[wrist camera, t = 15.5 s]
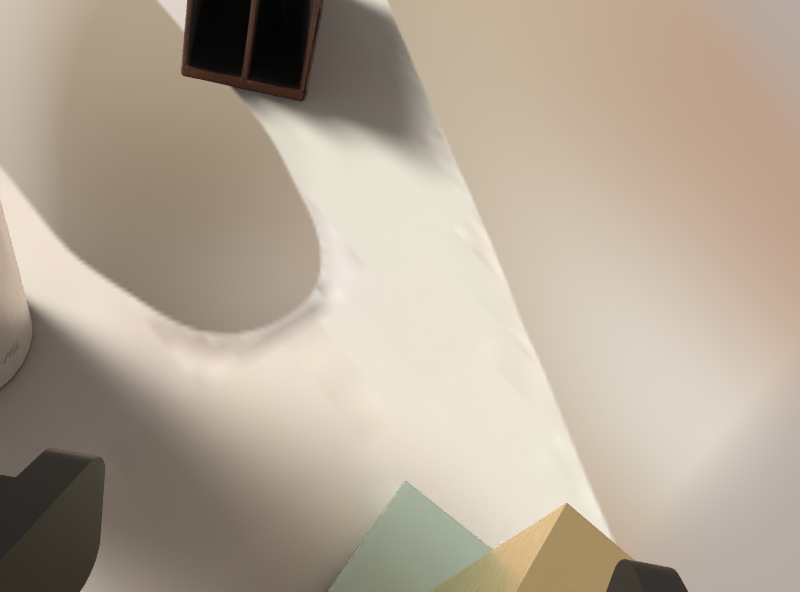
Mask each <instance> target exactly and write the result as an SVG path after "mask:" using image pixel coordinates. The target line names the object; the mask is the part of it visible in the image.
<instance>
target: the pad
mask: <svg viewBox="0 0 800 592" xmlns="http://www.w3.org/2000/svg"><path fill="white" fill-rule="evenodd" d="M491 551H493V550H492V549H491V548H490V547H489V546H487V545H486V544H485V543H484V542H482V541H481V540H480V539H479V538H477V537H476V536H475V535H474V534H472V533H471V532H470V531H468V530H467V529H466V528H465V527H463V526H462V525H461V524H460V523H458V522H457V521H456V520H455V519H453V518H452V517H451V516H450V515H448V514H447V513H446V512H445V511H443V510H442V509H441V508H440V507H438V506H437V505H436V504H434V503H433V502H432V501H431V500H429V499H428V498H427V497H426V496H424V495H423V494H422V493H421V492H419V491H418V490H417V489H416V488H414V487H413V486H412V485H411V484H409V483H408V482H407V481H405V482H404V483H403V485H402V486H401V487H400V488H399V490H398V491H397V492H396V494H395V495H394V497H393V498H392V500H391V501H390V503H389V504H388V505H387V507H386V508H385V510H384V511H383V513H382V514H381V515H380V517H379V518H378V520H377V521H376V523H375V524H374V525H373V527H372V528H371V530H370V531H369V533H368V534H367V535H366V537H365V538H364V540H363V541H362V543H361V544H360V545H359V547H358V548H357V550H356V551H355V553H354V554H353V555H352V557H351V558H350V560H349V561H348V563H347V564H346V565H345V567H344V568H343V570H342V571H341V573H340V574H339V575H338V577H337V578H336V580H335V581H334V583H333V584H332V585H331V587H330V588H329V590H328V591H327V592H430V591H431V590H432V589H434V588H435V587H437V586H438V585H440V584H442V583H443V582H445V581H446V580H448V579H449V578H451V577H452V576H454V575H456V574H457V573H459V572H460V571H462V570H463V569H465V568H466V567H468V566H469V565H471V564H473V563H474V562H476V561H477V560H479V559H480V558H482V557H483V556H485V555H487V554H488V553H490V552H491Z"/></svg>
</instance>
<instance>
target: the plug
mask: <svg viewBox="0 0 800 592" xmlns="http://www.w3.org/2000/svg"><path fill="white" fill-rule="evenodd" d="M622 559H627V560H633V559H632V558H631V557H630V556H629V555H627V554H626V553H625V552H624V551H623V550H622V549H621V548H619V547H618V546H617V545H616V544H615V543H613V542H612V541H611V540H610V539H609V538H608V537H606V536H605V535H604V534H603V533H602V532H601V531H599V530H598V529H597V528H596V527H595V526H593V525H592V524H591V523H590V522H589V521H588V520H586V519H585V518H584V517H583V516H582V515H581V514H579V513H578V512H577V511H576V510H575V509H574V508H572V507H571V506H570V505H569V504H568V503H566V504H564V505H563V506H561V507H560V508H558V509H556V510H555V511H553V512H552V513H550V514H549V515H547V516H546V517H544V518H542V519H541V520H539V521H538V522H536V523H535V524H533V525H532V526H530V527H529V528H527V529H525V530H524V531H522V532H521V533H519V534H518V535H516V536H515V537H513V538H511V539H510V540H508V541H507V542H505V543H504V544H502V545H501V546H499V547H497V548H496V549H494V550H493V551H491V552H490V553H488V554H487V555H485V556H483V557H482V558H480V559H479V560H477V561H476V562H474V563H473V564H471V565H469V566H468V567H466V568H465V569H463V570H462V571H460V572H459V573H457V574H456V575H454V576H452V577H451V578H449V579H448V580H446V581H445V582H443V583H442V584H440V585H438V586H437V587H435V588H434V589H432V590H431V591H430V592H606V591H607V588H608V585H609V582H610V579H611V577H612V574H613V571H614V569H615V567H616V565H617V563H618V562H619V561H620V560H622ZM633 561H635V560H633Z"/></svg>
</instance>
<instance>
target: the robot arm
mask: <svg viewBox="0 0 800 592" xmlns="http://www.w3.org/2000/svg"><path fill="white" fill-rule="evenodd" d="M32 335H33V332H32V320H31V315H30V312H29V308H28V304H27V300H26V297H25V293H24V289H23V285H22V281H21V276H20V273H19V269H18V265H17V261H16V257H15V254H14V250H13V246H12V242H11V239H10V235H9V231H8V227H7V224H6V220H5V216H4V212H3V209H2V205H1V201H0V388H1V387H2V386H3V385H5V384H6V383H7V382H8V381H9V380H10V379H11V378H12V377H13V375H14V374H15V373H16V372H17V370H18V369H19V368H20V367H21V365H22V364H23V362H24V360H25V358H26V355H27V353H28V351H29V349H30V344H31V339H32ZM104 476H105V465H104V461H103V459H102V458H100V457H95V456H90V455H85V454H79V453H74V452H69V451H64V450H58V449H53V448H50V449H47V450H45V451H44V452H43V453H42V454H41V455H40V456H38V457H37V458H36V459H35V460H34V461H33V462H32V463H31V464H30V465H29V466H28V467H27V468H26V469H24V470H23V471H22V472H21V473H20V474H19V475H18V476H17V477H16V478H15V477H9V476H4V475H0V592H80V591H81V589H82V588H83V586H84V585H85V583H86V581H87V579H88V577H89V575H90V573H91V571H92V568H93V566H94V563H95V560H96V557H97V553H98V549H99V544H100V532H101V518H102V504H103V490H104ZM606 592H688V591H687V589H686V587H685V585H684V584H683V582H682V580H681V578H680V576H679V575H678V573H677V572H676V571H675V570H674V569H672V568H669V567H663V566H659V565H654V564H648V563H642V562H638V561H633V560H627V559H622V560H620V561H619V562H618V563H617V565H616V567H615V569H614V571H613V574H612V577H611V579H610V582H609V585H608V588H607V591H606Z"/></svg>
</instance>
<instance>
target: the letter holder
mask: <svg viewBox="0 0 800 592" xmlns="http://www.w3.org/2000/svg"><path fill="white" fill-rule="evenodd" d="M322 7H323V0H187V10H186V21H185V32H184V44H183V55H182V56H183V58H182V66H181V73H182V75H183V76H187V77H191V78H196V79H201V80H205V81H210V82H214V83H219V84H224V85H228V86H234V87H239V88H243V89H248V90H253V91H257V92H262V93H267V94H272V95H276V96H281V97H286V98H291V99H296V100H304V99H305V98H306V94H307V90H308V83H309V78H310V72H311V67H312V62H313V57H314V51H315V46H316V41H317V37H318V32H319V26H320V21H321V15H322Z"/></svg>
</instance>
